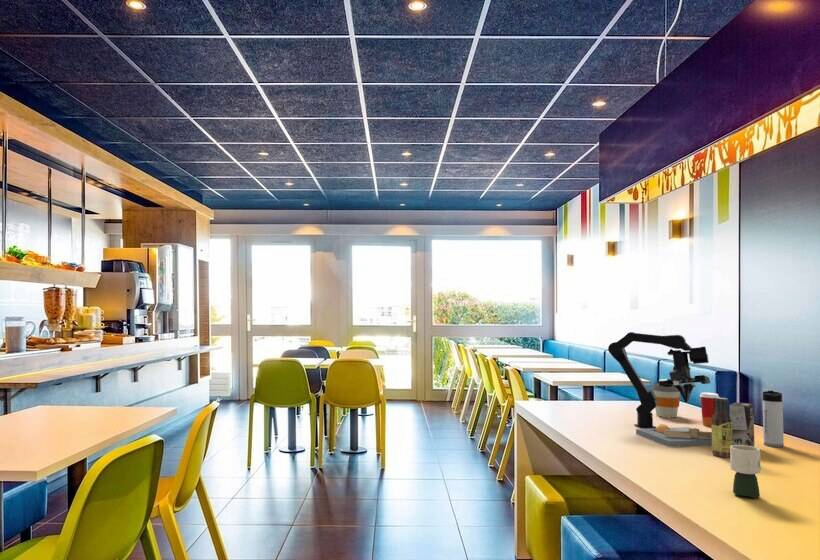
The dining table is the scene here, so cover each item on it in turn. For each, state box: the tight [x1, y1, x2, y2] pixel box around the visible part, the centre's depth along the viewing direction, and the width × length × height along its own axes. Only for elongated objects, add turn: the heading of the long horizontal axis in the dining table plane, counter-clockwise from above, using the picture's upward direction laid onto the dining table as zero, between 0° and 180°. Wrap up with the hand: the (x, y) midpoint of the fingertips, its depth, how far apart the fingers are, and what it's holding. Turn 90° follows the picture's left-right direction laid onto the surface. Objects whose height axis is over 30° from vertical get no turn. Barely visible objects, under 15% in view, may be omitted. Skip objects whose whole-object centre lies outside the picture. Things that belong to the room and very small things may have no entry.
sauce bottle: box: [711, 397, 732, 458], centre depth 193 cm, size 7×6×20 cm
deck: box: [635, 426, 712, 447], centre depth 217 cm, size 22×24×2 cm
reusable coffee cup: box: [651, 382, 681, 418], centre depth 264 cm, size 13×13×15 cm
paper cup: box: [699, 392, 720, 428], centre depth 243 cm, size 8×8×14 cm
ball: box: [656, 423, 670, 434], centre depth 220 cm, size 5×5×5 cm
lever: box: [664, 408, 716, 438], centre depth 210 cm, size 4×21×11 cm, turn 78°
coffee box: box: [728, 401, 756, 447], centre depth 203 cm, size 9×6×16 cm
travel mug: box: [762, 390, 785, 448], centre depth 208 cm, size 6×7×20 cm
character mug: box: [729, 445, 762, 499], centre depth 151 cm, size 11×7×13 cm, turn 167°
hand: (686, 402), depth 227 cm, fingers closed
